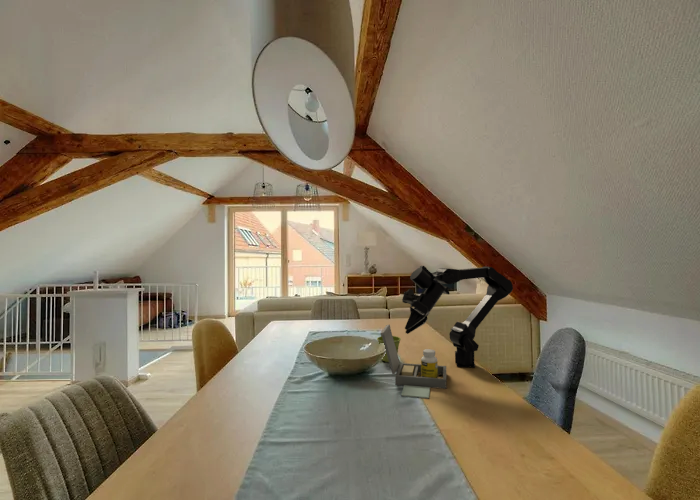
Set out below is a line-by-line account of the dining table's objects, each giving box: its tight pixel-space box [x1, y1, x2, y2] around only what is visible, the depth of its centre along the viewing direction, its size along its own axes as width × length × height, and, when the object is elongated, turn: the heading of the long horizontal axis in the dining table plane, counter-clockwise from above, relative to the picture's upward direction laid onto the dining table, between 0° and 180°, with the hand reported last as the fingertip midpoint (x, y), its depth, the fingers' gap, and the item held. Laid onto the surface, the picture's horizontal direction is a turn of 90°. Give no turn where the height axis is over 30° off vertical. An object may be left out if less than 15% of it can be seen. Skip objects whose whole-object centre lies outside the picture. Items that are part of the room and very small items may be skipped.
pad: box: [401, 385, 431, 399], centre depth 112 cm, size 8×8×1 cm
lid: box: [380, 324, 401, 375], centre depth 126 cm, size 14×13×1 cm
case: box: [394, 362, 447, 389], centre depth 123 cm, size 16×14×3 cm
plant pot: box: [376, 335, 402, 363], centre depth 145 cm, size 9×9×9 cm
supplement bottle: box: [420, 348, 439, 378], centre depth 122 cm, size 5×5×10 cm
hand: (406, 331), depth 131 cm, fingers open, 9 cm apart
